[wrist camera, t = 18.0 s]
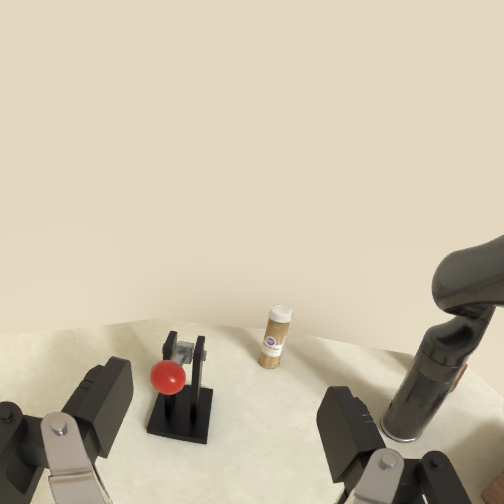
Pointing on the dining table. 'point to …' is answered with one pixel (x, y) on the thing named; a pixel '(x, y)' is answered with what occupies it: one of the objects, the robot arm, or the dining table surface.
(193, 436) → the bracket
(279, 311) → the sprinkles bottle
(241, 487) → the dining table surface
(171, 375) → the lever
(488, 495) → the tissue box cover
